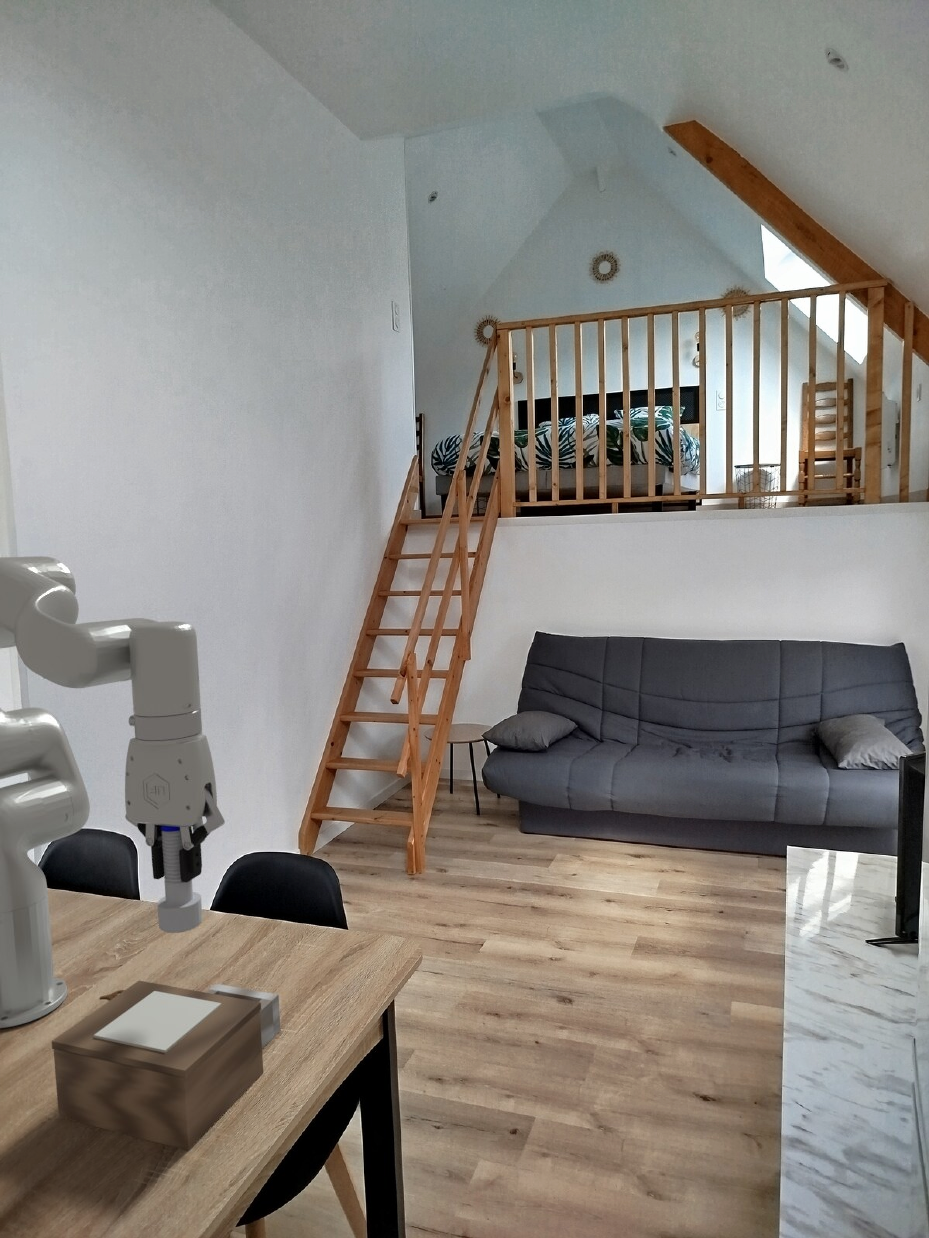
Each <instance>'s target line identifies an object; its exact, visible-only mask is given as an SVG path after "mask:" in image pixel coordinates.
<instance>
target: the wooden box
mask: <svg viewBox="0 0 929 1238" xmlns="http://www.w3.org/2000/svg"><path fill="white" fill-rule="evenodd" d="M154 991H158V992H163V993H168V994H174V995H179V996H185V997H190V998H196V999H201V1000H206V1001H212V1002H217V1003H221V1004H222V1006H221V1007H219V1008H218V1009H217V1010H216V1011H215V1012H213V1013H212V1014H211V1015H210V1016H209V1017H208V1018H206V1019H205V1020H204V1021H203V1022H202V1023H200V1024H199V1025H198V1026H197V1027H196V1028H195V1029H193V1030H192V1031H191V1032H190V1033H189V1034H187V1035H186V1036H185V1037H184V1038H183V1039H181V1040H180V1041H179V1042H178V1043H177V1044H176V1045H174V1046H173V1047H172V1048H171V1049H170V1050H168V1051H167V1052H166V1053H163V1052H159V1051H154V1050H149V1049H145V1048H140V1047H135V1046H131V1045H126V1044H121V1043H117V1042H112V1041H108V1040H103V1039H98V1038H94V1035H95V1034H96V1033H97V1032H99V1031H100V1030H101V1029H103V1028H104V1027H106V1026H107V1025H108V1024H110V1023H111V1022H112V1021H114V1020H115V1019H117V1018H118V1017H119V1016H121V1015H122V1014H123V1013H125V1012H126V1011H128V1010H129V1009H130V1008H132V1007H133V1006H134V1005H136V1004H137V1003H139V1002H140V1001H141V1000H143V999H144V998H145V997H147V996H148V995H150V994H151V993H152V992H154ZM280 1017H281V1015H280V999H279V994H276V993H272V992H271V993H270V992H265V991H260V990H254V989H248V988H243V987H236V986H232V985H226V984H219V983H214V984H213V985H212V986H210V987H209V988H208V989H206V991H199V990H195V989H188V988H183V987H177V986H172V985H166V984H160V983H156V982H151V981H149V982H148V981H144V980H143V981H142V980H138V981H136V982H135V983H133V984H132V985H130V986H129V987H127V988H126V989H124V991H123V992H122V993H119V994H118V995H117V996H116V997H114V998H113V999H112V1000H110V1001H109V1000H108V1001H106V1003H104V1004H103V1005H101V1006H100V1007H99V1008H97V1009H96V1010H94V1011H93V1012H91V1013H90V1014H89V1015H87V1016H86V1017H85V1018H83V1019H82V1020H80V1021H79V1022H76V1024H74V1025H73V1026H71V1027H69V1028H68V1029H67V1030H65V1031H64V1032H63V1033H61V1034H59V1035H58V1036H57V1037H54V1039H53V1040H51V1050H53V1059H54V1061H53V1062H54V1073H55V1084H56V1085H55V1086H56V1087H55V1088H56V1096H57V1097H56V1098H57V1099H56V1100H57V1109H58V1117H59V1118H62V1119H65V1120H66V1119H67V1120H71V1121H74V1122H78V1123H82V1124H85V1125H88V1126H89V1125H90V1126H94V1127H96V1128H101V1129H104V1130H109V1131H112V1132H116V1133H118V1134H124V1135H128V1136H132V1137H135V1138H140V1139H143V1140H147V1141H151V1142H154V1143H158V1144H162V1145H165V1146H169V1147H173V1148H177V1149H181V1150H185V1151H190V1150H191V1149H192V1148H193V1147H194V1146H195V1145H196V1144H197V1143H198V1142H199V1141H200V1140H201V1138H202V1137H204V1135H205V1134H206V1133H208V1131H209V1130H211V1128H212V1127H213V1126H214V1125H215V1124H216V1123H217V1122H218V1121H220V1118H221V1117H222V1116H224V1114H226V1113H227V1111H229V1110H230V1109H231V1107H232V1106H234V1104H235V1103H236V1102H237V1101H238V1100H239V1099H240V1098H241V1097H242V1096H243V1095H244V1094H245V1093H246V1092H247V1090H248V1089H250V1088H251V1086H252V1085H253V1084H254V1083H255V1082H256V1081H257V1080H258V1079H260V1077H261V1076H262V1075H263V1074H264V1059H263V1049H264V1048H265V1047H266V1045H268V1044H269V1043H270V1042H271V1040H273V1039H274V1038H275V1037H276V1036H277V1035H278V1033H280V1032H281V1020H280V1019H281V1018H280Z"/></svg>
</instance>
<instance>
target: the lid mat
mask: <svg viewBox="0 0 929 1238" xmlns="http://www.w3.org/2000/svg"><path fill="white" fill-rule="evenodd" d="M221 1006H222V1004H221V1003H217V1002H212V1001H206V1000H201V999H196V998H190V997H185V996H179V995H174V994H168V993H163V992H158V991H154V992H152V993H151V994H150V995H148V996H147V997H145V998H144V999H143V1000H141V1001H140V1002H139V1003H137V1004H136V1005H134V1006H133V1007H132V1008H130V1009H129V1010H128V1011H126V1012H125V1013H123V1014H122V1015H121V1016H119V1017H118V1018H117V1019H115V1020H114V1021H112V1022H111V1023H110V1024H108V1025H107V1026H106V1027H104V1028H103V1029H101V1030H100V1031H99V1032H97V1033H96V1034H95V1035H94V1038H98V1039H103V1040H108V1041H112V1042H117V1043H121V1044H126V1045H131V1046H135V1047H140V1048H145V1049H149V1050H154V1051H159V1052H163V1053H166V1052H167V1051H168V1050H170V1049H171V1048H172V1047H173V1046H174V1045H176V1044H177V1043H178V1042H179V1041H180V1040H181V1039H183V1038H184V1037H185V1036H186V1035H187V1034H189V1033H190V1032H191V1031H192V1030H193V1029H195V1028H196V1027H197V1026H198V1025H199V1024H200V1023H202V1022H203V1021H204V1020H205V1019H206V1018H208V1017H209V1016H210V1015H211V1014H212V1013H213V1012H215V1011H216V1010H217V1009H218V1008H219V1007H221Z"/></svg>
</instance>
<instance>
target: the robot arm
mask: <svg viewBox="0 0 929 1238" xmlns="http://www.w3.org/2000/svg"><path fill="white" fill-rule="evenodd" d="M76 585H77V584H76V581H75V578H74V575H73V573H72V571H71V570H70V569H69V567H68V566H67V565H65V563H63V562H62V561H60V560H59V559H57V558H53V557H50V556H39V555H38V556H11V557H10V556H9V557H8V556H4V557H3V556H0V649H6V648H7V649H8V648H14V647H16V650H17V653H18V655H19V657H20V659H21V660H22V662H23V664H24V665H25V667H27V668H28V669H29V670H30V671H31V672H33V673H35V674H36V675H38V676H40V677H41V678H43V679H44V680H47V681H49V682H51V683H54V684H56V685H58V686H60V687H64V688H69V689H70V688H71V689H85V688H91V687H97V686H101V685H102V686H103V685H107V684H113V683H119V682H126V681H131V693H132V705H133V707H132V708H133V714H132V715H130V717H129V718H128V724H129V726H130V727H134V737H132V738H130V740H129V743H128V747H127V752H126V761H125V773H124V775H125V776H124V800H125V802H124V803H125V813H126V814H125V819H126V821H128V822H129V824H132V825H133V826H134V827H136V828H137V830H138V831H139V833H141V834H142V836H143V837H144V838H145V844H146V845H147V846H148V847H150V850H151V851H150V852H151V865H152V878H153V879H154V880H160V879H162V878H164V877H165V876H164V864H163V862H164V860H163V858H164V857H163V854H164V853H163V848H162V847H163V845H162V843H163V842H162V839H163V838H162V835H163V834H162V830H161V828H162V826H161V825H165V826H177V827H180V831H181V837H182V843H183V847H184V848H183V849H181V850H180V851H179V860H180V877H181V881H182V882H186V883H187V882H189V881H190V880H192V881H193V879H195V878H197V877H198V876H200V875H201V874H202V869H203V862H202V861H203V860H202V844H203V843H204V842H206V841H205V840H206V838H207V837H208V836H209V835H210V834H211V833H212V832H214V831H216V830H218V829H219V828H220V827H223V825H225V818H224V817H223V815H222V813H221V811H220V808H219V807H218V795H217V794H218V793H217V784H216V776H215V769H214V762H213V758H212V753H211V749H210V748H211V747H210V745H209V742H208V738H207V735H204V734H203V727H202V726H203V723H202V722H203V721H202V707H201V706H202V705H201V691H200V690H201V689H200V673H199V658H198V657H199V655H198V653H199V652H198V639H197V632H196V630H195V627H194V626H193V625H192V624H191V623H189V622H185V621H174V620H173V621H171V620H170V621H158V620H153V619H150V618H143V617H142V618H141V617H136V618H135V617H134V618H124V619H111V620H103V621H102V620H101V621H91V622H83V623H76V622H77V620H78V618H79V617H78V616H79V610H80V609H79V602H78V599H77V597H76V591H77V590H76V589H77V588H76V587H77V586H76ZM76 760H77V759H76V758H75V756H74V753H73V749H72V747H71V744H70V741H69V738H68V736H67V734H66V731H65V730H64V727H63V725H62V723H60V721H59V720H58V718H56V716H55V715H54V714H53V713H52V712H50V711H48V710H47V709H45V708H41V707H25V708H19V709H13V710H8V711H6V710H3V709H2V708H1V707H0V780H3V779H8V778H11V777H14V776H18V775H23V774H28V775H27V776H28V777H29V778H30V780H26V781H23V782H17V783H13V784H10V785H6V786H2V787H0V1029H4V1028H11V1027H15V1026H16V1027H17V1026H19V1025H20V1026H21V1025H23V1024H27V1023H30V1022H33V1021H35V1020H37V1019H40V1018H42V1017H44V1016H46V1015H48V1014H49V1013H51V1012H53V1011H55V1010H56V1009H57V1008H58V1007H59V1006H60V1005H61V1004H62V1003H63V1002H64V1001H65V999H67V995H68V988H67V983H66V981H64V980H63V979H61V978H59V977H58V976H57V977H56V976H55V971H54V960H53V946H52V932H51V921H50V909H49V908H50V907H49V905H50V904H49V895H48V894H49V893H48V885H47V879H46V875H45V874H44V872H43V870H42V869H41V868H40V866H38V865H37V864H36V863H35V862H34V861H33V860H32V859H30V857H29V855H28V852H29V851H31V850H33V849H37V848H38V847H40V846H44V845H45V844H48V843H52V842H55V841H57V840H61V839H63V838H66V837H68V836H71V835H74V834H75V833H77V832H78V831H81V829H82V828H84V826H85V825H86V824H87V822H88V820H89V816H90V812H91V811H90V809H91V808H90V807H91V806H90V799H89V796H88V791H87V787H86V786H85V782H84V780H83V777H82V774H81V771H80V769H79V766H78V763H77V761H76ZM203 817H205V819H206V822H205V823H204V822H203Z"/></svg>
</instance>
